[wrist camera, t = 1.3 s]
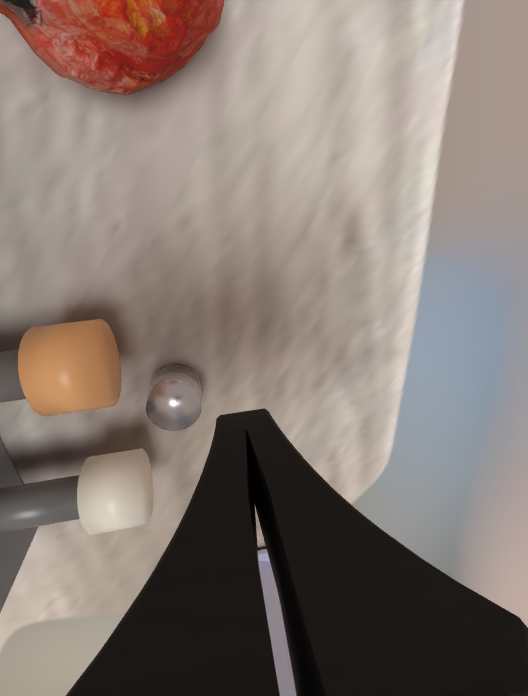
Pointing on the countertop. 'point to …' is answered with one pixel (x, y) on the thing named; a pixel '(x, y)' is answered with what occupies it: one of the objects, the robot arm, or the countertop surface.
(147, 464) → the cream knob
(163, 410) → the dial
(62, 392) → the orange knob
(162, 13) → the pomegranate
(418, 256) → the countertop surface
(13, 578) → the mount
